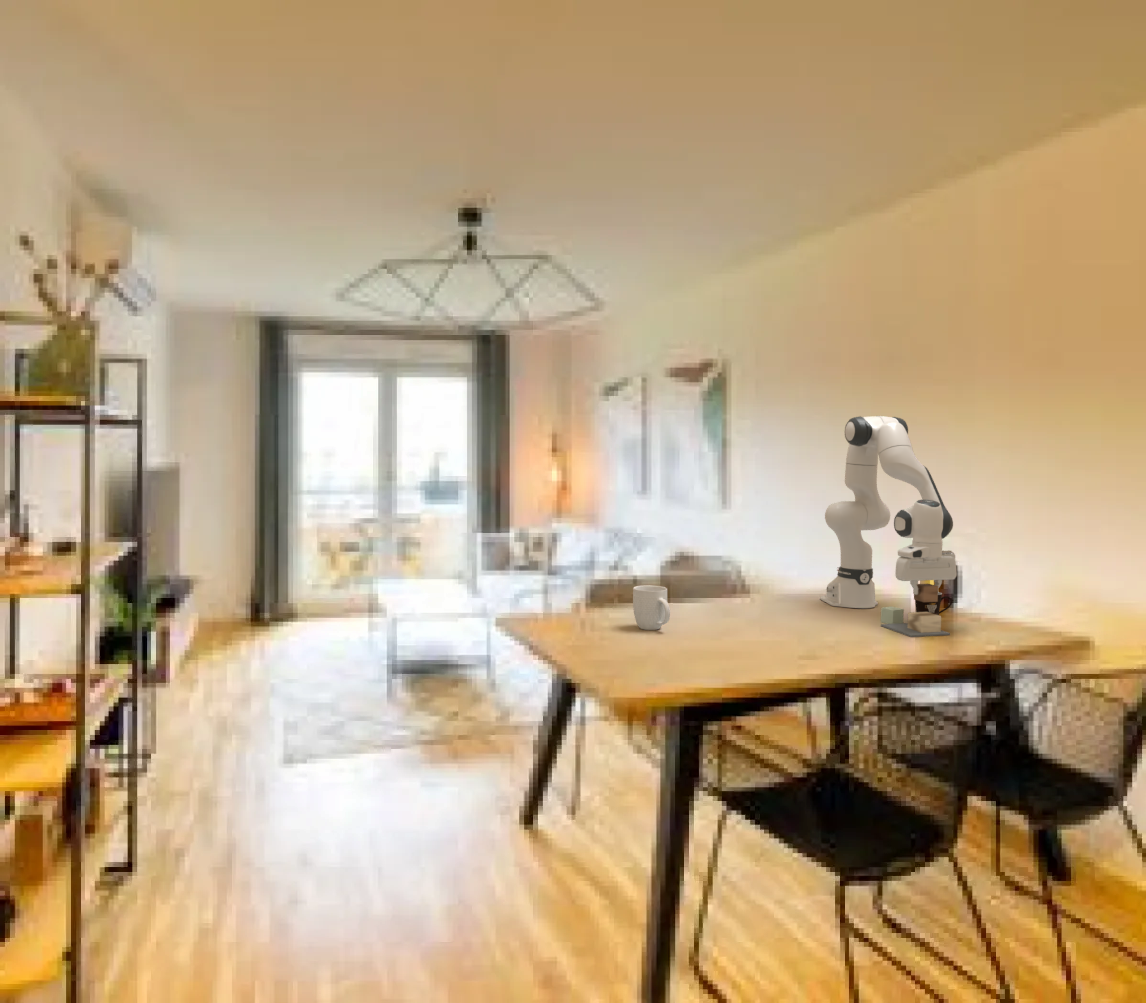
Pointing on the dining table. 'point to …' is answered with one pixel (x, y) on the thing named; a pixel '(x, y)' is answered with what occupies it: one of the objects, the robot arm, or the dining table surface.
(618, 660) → the dining table surface
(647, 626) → the mug
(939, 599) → the coffee mug
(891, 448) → the robot arm
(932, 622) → the base block
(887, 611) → the sage block
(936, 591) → the walnut block
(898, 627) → the mat
